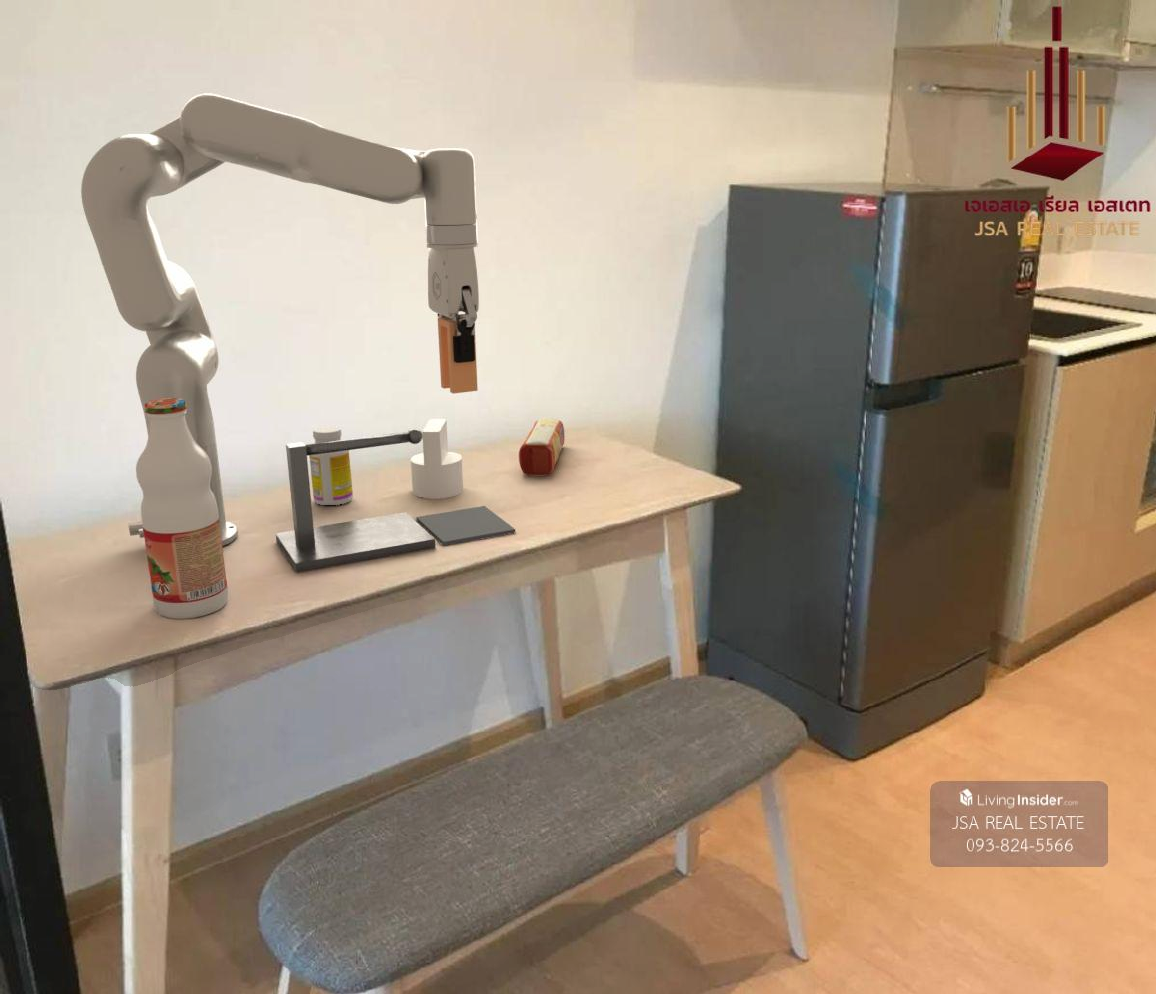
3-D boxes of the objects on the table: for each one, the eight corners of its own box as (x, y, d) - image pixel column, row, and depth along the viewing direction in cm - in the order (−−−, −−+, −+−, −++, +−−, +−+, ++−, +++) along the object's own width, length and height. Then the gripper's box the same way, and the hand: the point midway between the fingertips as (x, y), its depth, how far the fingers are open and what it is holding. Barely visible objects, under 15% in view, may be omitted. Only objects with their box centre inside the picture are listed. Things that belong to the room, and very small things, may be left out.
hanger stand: (296, 572, 153) (285, 458, 147) (276, 542, 165) (265, 435, 159) (442, 546, 162) (436, 438, 157) (413, 519, 174) (407, 417, 169)
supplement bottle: (358, 495, 187) (352, 424, 183) (346, 507, 180) (340, 434, 176) (321, 494, 187) (314, 423, 183) (308, 506, 181) (301, 433, 177)
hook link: (452, 393, 161) (449, 322, 157) (441, 387, 165) (437, 317, 162) (477, 390, 162) (474, 320, 159) (465, 384, 167) (462, 315, 163)
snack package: (534, 446, 217) (533, 414, 215) (566, 447, 216) (566, 415, 214) (518, 477, 197) (517, 442, 194) (554, 478, 196) (553, 442, 194)
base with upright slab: (460, 498, 184) (456, 431, 181) (408, 498, 185) (404, 431, 181) (466, 482, 193) (463, 418, 189) (416, 483, 193) (413, 419, 189)
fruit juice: (220, 618, 138) (194, 409, 129) (146, 622, 137) (114, 411, 129) (235, 590, 147) (211, 392, 138) (165, 593, 146) (137, 394, 137)
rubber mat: (443, 545, 163) (443, 541, 163) (416, 520, 174) (416, 516, 174) (515, 532, 168) (515, 529, 168) (484, 509, 179) (484, 505, 179)
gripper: (409, 234, 162) (416, 352, 168) (447, 242, 148) (454, 371, 153) (455, 231, 165) (461, 347, 171) (497, 239, 151) (502, 365, 157)
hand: (457, 357), depth 162 cm, fingers closed on hook link, 5 cm apart
